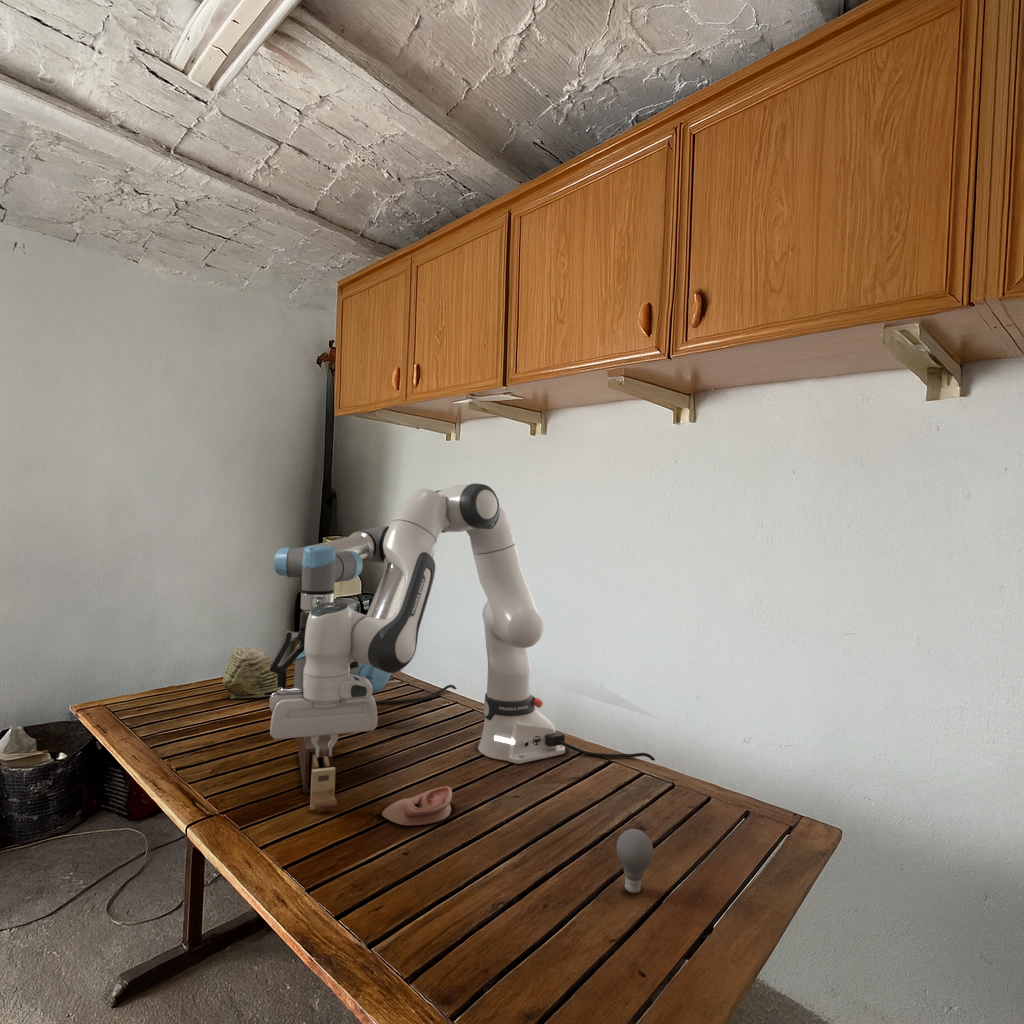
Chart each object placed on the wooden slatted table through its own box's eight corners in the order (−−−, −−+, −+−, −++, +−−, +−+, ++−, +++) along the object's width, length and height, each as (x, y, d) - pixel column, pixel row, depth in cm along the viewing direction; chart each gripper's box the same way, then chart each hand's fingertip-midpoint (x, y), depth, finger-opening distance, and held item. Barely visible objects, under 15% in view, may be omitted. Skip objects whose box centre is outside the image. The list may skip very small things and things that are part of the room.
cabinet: (331, 790, 137) (333, 746, 137) (304, 793, 135) (305, 749, 135) (322, 751, 157) (323, 713, 157) (298, 753, 155) (299, 715, 155)
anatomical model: (375, 801, 124) (398, 776, 135) (375, 821, 124) (397, 795, 136) (440, 811, 122) (457, 785, 133) (439, 831, 122) (456, 803, 133)
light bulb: (610, 879, 108) (613, 822, 108) (644, 879, 109) (647, 822, 109) (619, 902, 102) (622, 840, 102) (655, 901, 103) (658, 840, 103)
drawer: (337, 821, 122) (339, 782, 122) (313, 825, 121) (314, 785, 120) (324, 765, 147) (325, 732, 147) (303, 767, 145) (305, 734, 145)
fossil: (218, 695, 195) (220, 647, 195) (278, 685, 208) (279, 640, 207) (228, 703, 189) (230, 653, 188) (289, 692, 201) (290, 645, 201)
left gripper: (260, 614, 144) (257, 707, 144) (372, 612, 153) (368, 699, 153) (261, 608, 151) (258, 697, 151) (367, 606, 160) (364, 690, 160)
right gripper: (269, 694, 118) (267, 768, 118) (380, 687, 125) (377, 756, 125) (269, 684, 124) (267, 755, 124) (375, 678, 131) (372, 744, 131)
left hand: (313, 698), depth 152 cm, fingers open, 13 cm apart
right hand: (323, 755), depth 125 cm, fingers closed
